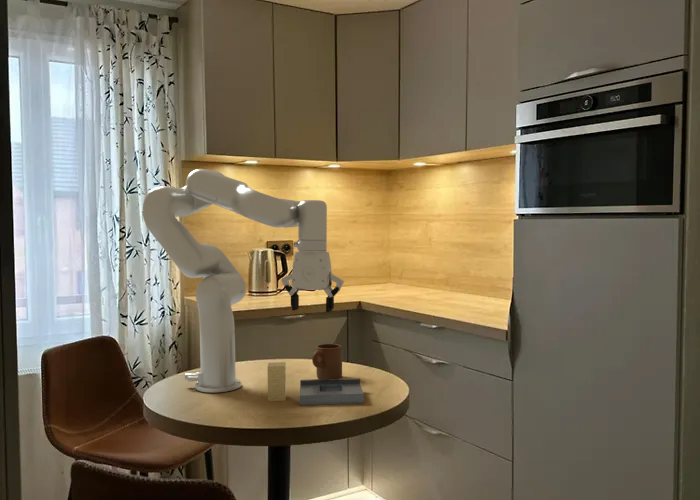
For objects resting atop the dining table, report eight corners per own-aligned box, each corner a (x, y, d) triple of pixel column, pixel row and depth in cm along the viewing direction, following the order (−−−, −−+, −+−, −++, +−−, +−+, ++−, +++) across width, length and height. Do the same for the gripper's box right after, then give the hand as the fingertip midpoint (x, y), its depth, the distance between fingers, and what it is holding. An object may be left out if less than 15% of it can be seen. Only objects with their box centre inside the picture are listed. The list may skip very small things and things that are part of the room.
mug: (324, 385, 175) (324, 352, 175) (302, 382, 179) (302, 349, 179) (347, 376, 186) (346, 345, 185) (325, 373, 190) (325, 342, 189)
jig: (299, 405, 156) (299, 391, 156) (300, 392, 168) (300, 379, 168) (363, 403, 157) (363, 389, 157) (359, 391, 169) (359, 378, 169)
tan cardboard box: (268, 401, 160) (267, 366, 160) (269, 396, 165) (268, 362, 164) (285, 400, 161) (284, 365, 160) (286, 396, 165) (285, 362, 165)
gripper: (276, 246, 165) (276, 311, 166) (338, 247, 160) (338, 314, 161) (287, 245, 172) (287, 307, 173) (347, 246, 167) (347, 310, 168)
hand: (312, 310), depth 167 cm, fingers open, 9 cm apart
